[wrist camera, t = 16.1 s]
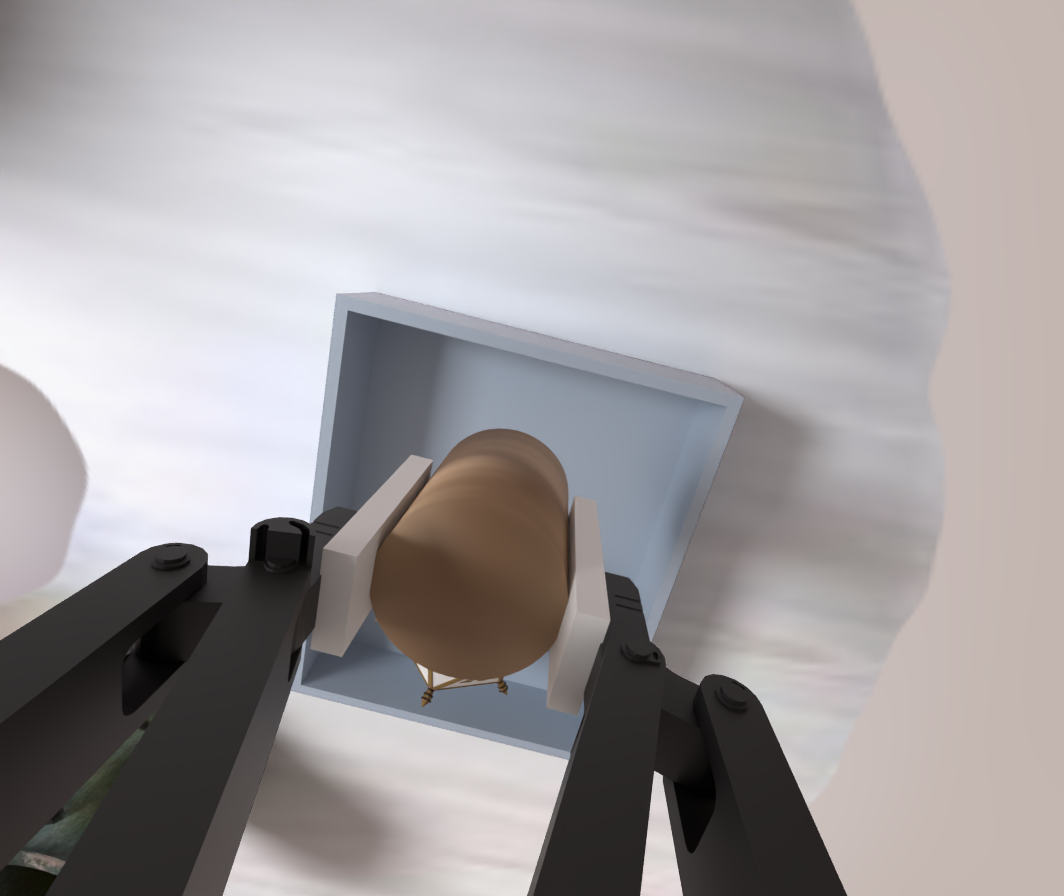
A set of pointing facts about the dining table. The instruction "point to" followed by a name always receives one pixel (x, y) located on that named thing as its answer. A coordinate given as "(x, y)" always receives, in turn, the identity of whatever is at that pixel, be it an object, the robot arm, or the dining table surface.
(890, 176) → the dining table surface
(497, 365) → the tote
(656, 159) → the dining table surface
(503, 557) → the walnut cylinder
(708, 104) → the dining table surface
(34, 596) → the dining table surface
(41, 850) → the mug
